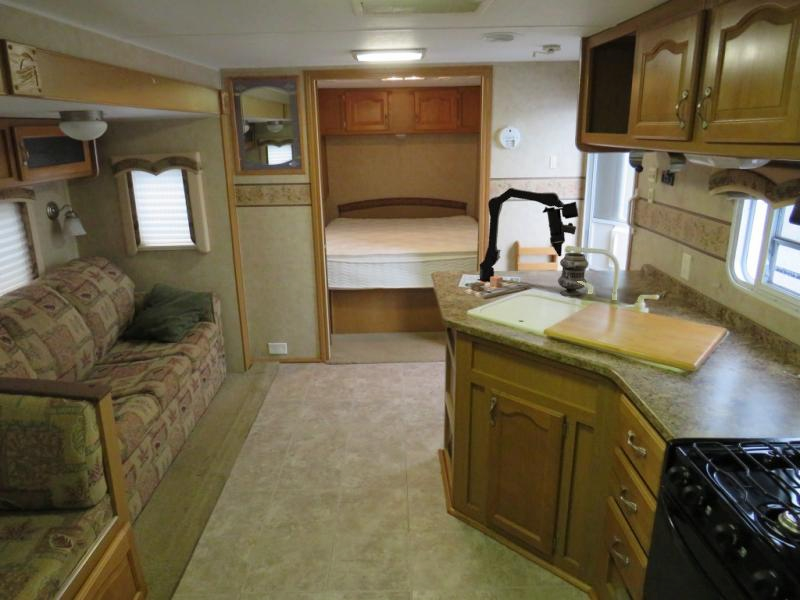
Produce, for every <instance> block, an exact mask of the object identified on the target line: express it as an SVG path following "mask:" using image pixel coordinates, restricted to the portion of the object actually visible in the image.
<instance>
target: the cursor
mask: <svg viewBox="0 0 800 600" xmlns="http://www.w3.org/2000/svg"><path fill="white" fill-rule="evenodd" d="M503 282H504V277H502V276H499V275H494V276H492V277H490V281H489V285H490V286H494V287H500V286H502V284H503V285H507V286H509V284H507V283H503Z"/></svg>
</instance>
